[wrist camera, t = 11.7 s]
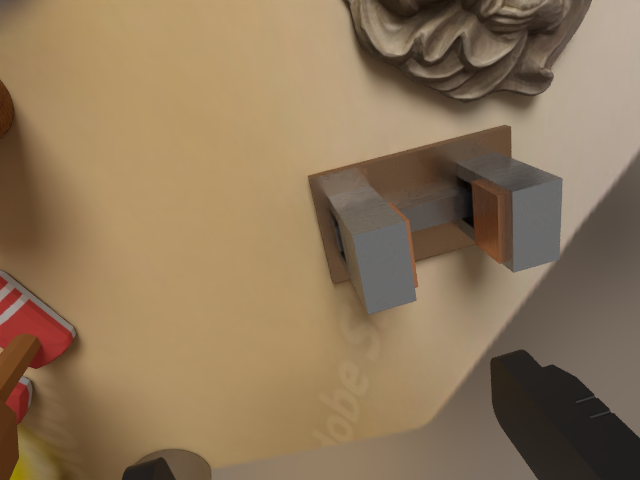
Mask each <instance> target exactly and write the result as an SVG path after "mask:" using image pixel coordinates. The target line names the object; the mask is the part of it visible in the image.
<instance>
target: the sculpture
mask: <svg viewBox="0 0 640 480" xmlns="http://www.w3.org/2000/svg"><path fill="white" fill-rule="evenodd" d="M347 1H348V3H349V5H350V8H351V12H352V18H353V23H354V27H355V30H356V33H357V36H358V39H359V43H360V45H361V47H362V48H363V49H364V50H365V51H366V52H367V53H368V54H369V55H371V56H372V57H373V58H375V59H378V60H381V61H384V62H386V63H389V64H392V65H395V66H397V67H398V68H400V69H401V70H402V71H403V72H404V74H405V75H406V77H408V78H410V79H411V80H413V81H415V82H418V83H420V84H422V85H424V86H427V87H429V88H432V89H435V90H438V91H439V92H441V93H442V94H444V95H445V96H446V97H449V98H454V99H458V100H460V101H462V102H463V103H467V102H471V101H474V100H478V99H480V98H483V97H485V96H486V95H488V94H491V93H493V92H497V91H509V92H514V93H518V94H522V95H527V96H535V95H538V94H540V93H543V92H544V91H545V90H546V89H547V88H548V87H549V86H550V85H551V82H552V80H553V78H554V76H553V73H552V71H551V66H552V65H553V63H554V62H555V60H556V59H557V58H558V56H559V55H560V54H561V52H562V51H563V49H564V48H565V46H566V45H567V44H568V42H569V41H570V40H571V38H572V37H573V35H574V34H575V32H576V31H577V29H578V28H579V26H580V24H581V23H582V21H583V19H584V17H585V15H586V13H587V11H588V9H589V7H590V4H591V1H592V0H347Z"/></svg>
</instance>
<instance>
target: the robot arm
mask: <svg viewBox="0 0 640 480" xmlns="http://www.w3.org/2000/svg"><path fill="white" fill-rule="evenodd" d="M490 366H491V387H492V404H493V408H494V412H495V415H496V417H497V419H498V422H499V424H500V426H501V427H502V429H503V430H504V432H505V433H506V435H507V436H508V437H509V439H510V440H511V442H512V443H513V444H514V446H515V447H516V449H517V450H518V452H519V453H520V454H521V456H522V457H523V459H524V460H525V462H526V463H527V464H528V466H529V467H530V469H531V470H532V471H533V473H534V474H535V476H536V477H537V479H538V480H640V438H639V437H638V436H637V435H636V434H635V433H634V432H633V431H632V430H631V429H630V428H628V426H627V425H626V424H625V423H623V422H622V421H621V420H620V419H619V418H618V417H617V416H616V415H615V414H614V413H611V412H610V409H609V408H608V407H607V406H606V405H605V404H604V403H603V402H602V401H600V399H598V398H596V397H595V396H594V394H593V393H592V392H591V391H590V390H589V389H588V388H587V387H586V386H585V385H584V384H583V383H582V382H581V381H580V380H579V379H577V377H575V376H573V375H571V374H570V373H568V372H565V371H564V370H562V369H560V368H558V367H556V366H554V365H549V366H546V367H543V368H542V367H541V366H540V365H539V364H538V363H537V362H536V361H535V360H534V358H533V357H532V356H531V355H530V354H529V353H527V352H526V351H525V350H518V351H514V352H511V353H508V354H504V355H501V356H498V357H494V358H492V359H491V363H490ZM122 480H211V470H210V468H209V465H208V464H207V463H206V461H205V460H204V459H202V458H201V457H200V456H198V455H196V454H194V453H191V452H187V451H183V450H164V451H160V452H155V453H153V454H150V455H148V456H146V457H144V458H143V459H141V460H140V461H139V462H137V463H136V464H135V465H133V466H130V467H128V468H127V469H126V470H125V472H124V474H123V478H122Z"/></svg>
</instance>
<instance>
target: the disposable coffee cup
mask: <svg viewBox="0 0 640 480" xmlns="http://www.w3.org/2000/svg"><path fill="white" fill-rule="evenodd" d="M12 119H13V104H12V100H11V97H10V95H9V93H8V90H7V89H6V87H5V86H4V84H3V83H2V81H1V80H0V138H1V137H2V136H3V135H4V134H5V133H6V132H7V131H8V130H9V128H10V127H11V123H12Z"/></svg>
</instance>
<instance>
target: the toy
mask: <svg viewBox="0 0 640 480" xmlns="http://www.w3.org/2000/svg"><path fill="white" fill-rule="evenodd" d="M75 335H76V333H75V330H74V327H73V326H71V325H70V324H69V323H68V322H66V321H65V320H64V319H63V318H61V317H60V316H59V315H58V314H56V313H55V312H54V311H53V310H51V309H50V308H49V307H48V306H46V305H45V304H44V303H43V302H41V301H40V300H39V299H38V298H36V297H35V296H34V295H33V294H31V293H30V292H29V291H28V290H26V289H25V288H24V287H23V286H21V285H20V284H19V283H18V282H16V281H15V280H14V279H13V278H12V277H10V276H9V275H8V274H7V273H5V272H4V271H1V270H0V347H2V348H3V349H4V350H3V352H2V353H1V354H0V480H9V479H10V477H11V475H12V473H13V470H14V468H15V466H16V463H17V461H18V459H19V451H18V434H17V425H18V424H19V423H20V422H21V421H22V419H23V417H24V415H25V414H26V412H27V410H28V408H29V407H30V405H31V398H32V385H31V382H30V380H29V379H27V378H25V377H22V376H23V374H24V372H25V371H26V369H27V368H28V367H31V368H35V369H37V368H40V367H42V366H44V365H47V364H49V363H50V362H51V361H53V360H54V359H56V358H57V357H59V356H60V355H61V354H63V353H64V352H66V350H67V349H68V347H69V346H70V345H71V343H72V341H73V339H74V337H75Z"/></svg>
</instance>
